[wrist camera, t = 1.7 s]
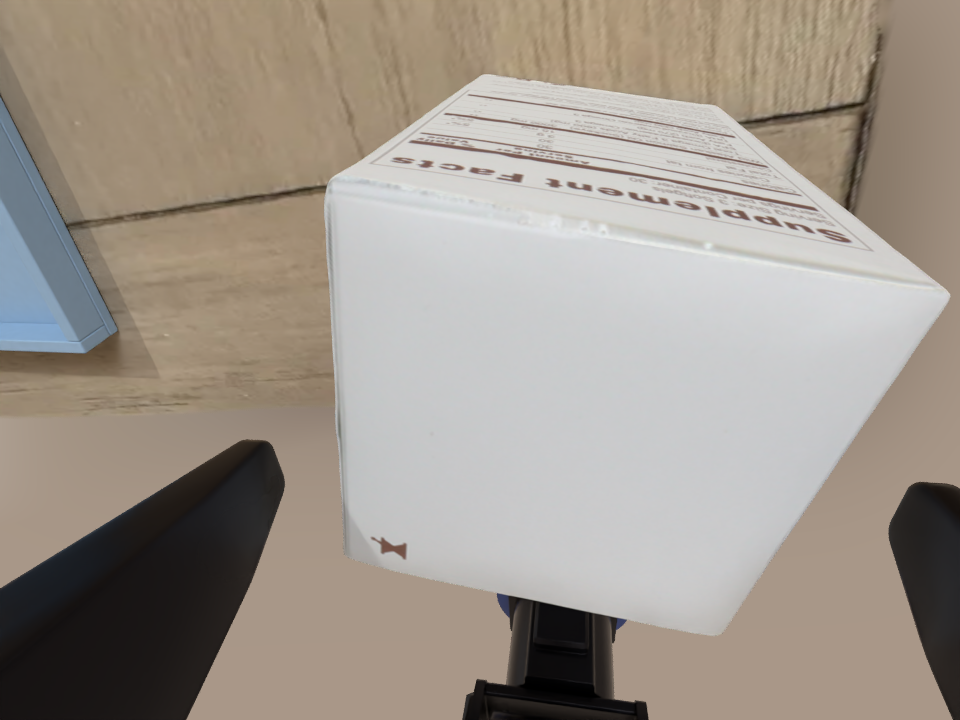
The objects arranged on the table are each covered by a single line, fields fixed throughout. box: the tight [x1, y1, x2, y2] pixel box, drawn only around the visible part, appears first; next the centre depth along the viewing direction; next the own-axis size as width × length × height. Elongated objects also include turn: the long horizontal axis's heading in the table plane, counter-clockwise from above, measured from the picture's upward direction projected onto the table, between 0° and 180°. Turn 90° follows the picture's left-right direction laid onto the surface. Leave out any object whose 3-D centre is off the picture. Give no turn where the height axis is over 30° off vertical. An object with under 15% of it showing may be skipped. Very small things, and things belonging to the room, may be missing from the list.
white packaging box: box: [324, 74, 951, 636], centre depth 13 cm, size 7×7×13 cm
